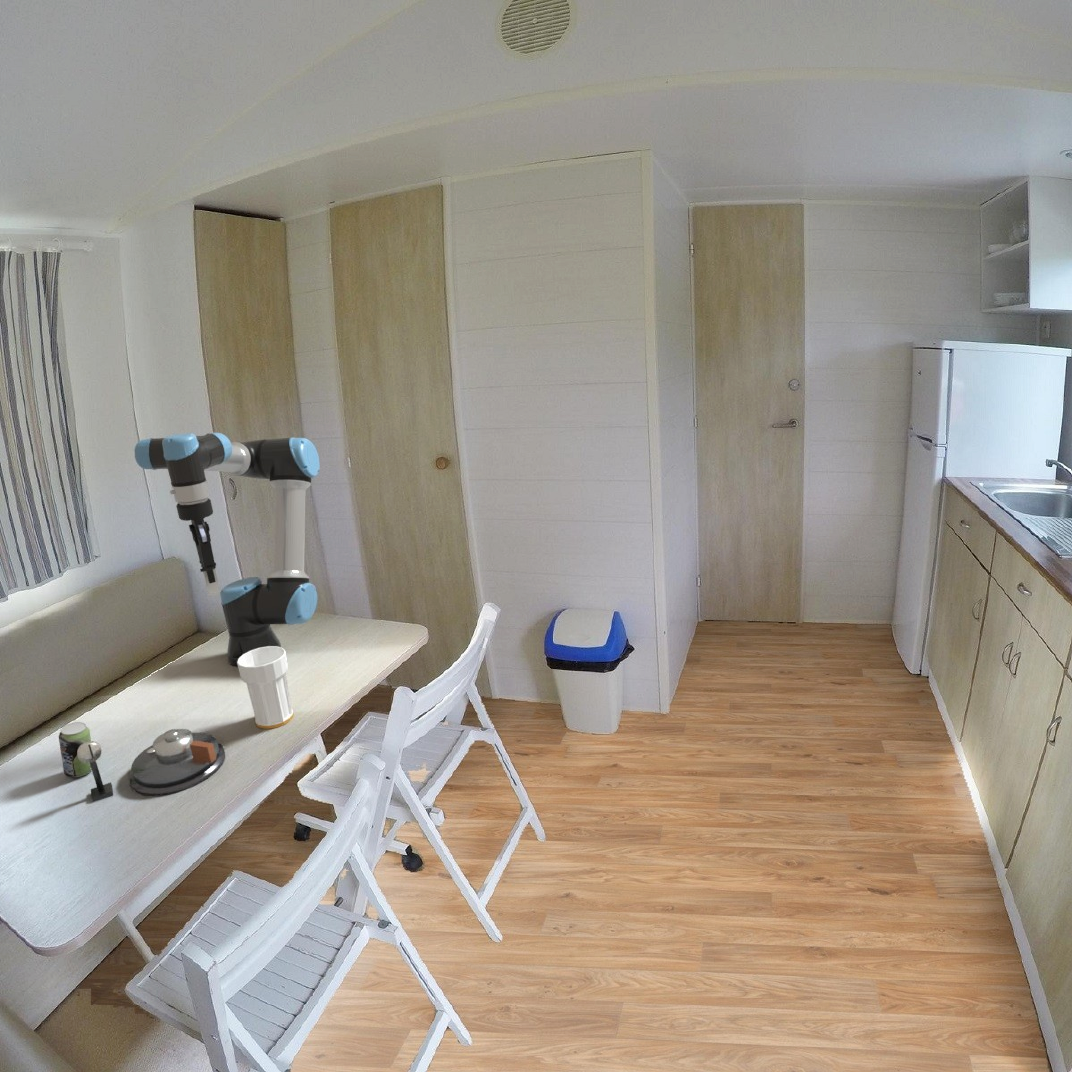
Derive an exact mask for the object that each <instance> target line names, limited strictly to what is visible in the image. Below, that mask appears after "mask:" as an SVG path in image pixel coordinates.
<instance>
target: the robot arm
mask: <svg viewBox="0 0 1072 1072" xmlns="http://www.w3.org/2000/svg"><path fill="white" fill-rule="evenodd" d="M133 450H134V459H135V461H136V463H137V465H138V466H139V467H140V468H142V469H145V470H153V471H155V470H156V471H157V470H167V471H168V472H167V473H168V474H169V475H168V476H169V478H170V484H171V488H172V489H171V490H170V491H169V493H170V495H173V497H174V501H175V503H177V504H176V506H175V507H176V509H177V514H178V518H179V519H180V520H181V521H186V522H187V521H190V522H191V524H188V528H189V531H190V532H191V535H192V540H193V542H194V544H195V547H196V551H197V555H198V559H199V563H200V567H201V568H200V569H199V571H200V573H202V574H203V577H204V584H205V588H206V592H207V595H208V597H211V596H215V595H220V602H221V607H222V610H223V615H224V619H225V622H226V624H225V625H226V627H227V628H226V629H227V632H228V644H227V651H226V657H227V661H228V664H229V665H231V666H234V667H238V665H237V661H238V658H240V657H241V656H242V655H243V654H245V653H247V652H249V651H251V650H254V649H257V648H261V647H267V646H277V647H281V648H282V646H281V645H282V644H281V641H280V639H279V638H278V636H277V635H276V633H275V631H274V630H273V628H272V626H271V625H288V626H294V625H301V624H306V623H307V622H308V621H310V619H312V616H313V615H314V613H315V611H316V608H317V603H318V592H317V589H316V586H315V585H314V584H312V583H311V582H310V577H309V575H308V574H307V573H306V572H305V541H306V540H305V539H306V538H305V537H306V535H305V534H306V496H307V495H306V494H307V493H306V492H307V490H308V489H309V488H310V487H311V486H312V479H314V478H316V477H317V476H318V475H319V472H320V467H321V466H320V465H321V464H320V457H319V453H318V451H317V448H316V446H315V444H313V442H312V441H310V439H309V438H308V439H307V438H305V437H294V436H293V437H284V438H271V439H256V440H249V441H243V442H238V441H234V442H233V441H232V442H231V441H230V439H229V438H228V437H227V435H225V434H223V433H221V432H212V433H210V432H209V433H206V434H204V435H196V434H194V433H189V432H187V433H178V434H173V435H169V436H166V437H161V438H160V437H159V438H157V437H156V438H153V437H151V438H145V439H141V440H139V441H138V442H137V443H136V445H135V447H134V449H133ZM205 471H206V472H207V471H208V472H225V473H226V474H229V475H231V476H234V477H245V478H251V479H257V480H258V479H259V480H269V484H270V486H271V487H272V488H273V489H274V505H273V506H274V508H273V510H274V512H273V518H274V519H273V545H272V546H273V549H272V550H273V551H272V554H273V555H272V558H273V559H272V572H271V573H270V574H268V576H267V578H266V581H267V582H266V583H263V580H261V578H260V577H258V576H251V577H245V578H242V579H238V580H236V581H233V582H231V583H229V584H227V585H226V586H224V587H223V588H222V589H220V584H219V580H218V576H217V569H216V568H217V563H216V562H215V558H214V553H213V552H214V551H213V548H212V547H213V546H212V544H211V541H212V540H211V534H210V526H209V523H208V521H205V519H206V517H207V518H208V517H210V516H212V515H213V514H214V510H213V505H212V500H211V499H210V491H209V490H210V489H209V485H208V482H207V478H206V474H205V473H206V472H205Z"/></svg>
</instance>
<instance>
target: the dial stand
mask: <svg viewBox="0 0 1072 1072" xmlns="http://www.w3.org/2000/svg"><path fill="white" fill-rule="evenodd" d="M101 755H102V747H101V745H100V744H99V743H98V742H96V741H92V740H91V741H89V742H85V743H83V744H82V745H81V746H80V747H79V748H78V751H77V756H78V759H79V760H80V761H81V762H83V763H90V766H91V769H92V770H91V772H92V776H93V779H94V782H95V785H96V787H93V788H91V789H90V799H91V802H92V803H95V802H97V801H100V800H104V799H106V798H109V797H112V796H114V789H113V784H112V782H111V781H110V782H108V783H103V780H102V777H101V774H100V770H99V766H98V763H97V760H99V759H100V757H101Z"/></svg>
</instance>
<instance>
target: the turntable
mask: <svg viewBox="0 0 1072 1072" xmlns="http://www.w3.org/2000/svg"><path fill="white" fill-rule="evenodd" d="M191 733H192V737H193V741H194V742H192V743H191V744H190V748H191V752H192V755H191V756H190V757H188V758H187V759H185V760H183V761H181V762H178V763H174V764H160V763H159V762H158V761H157V758H156V754H155V751H154V747H153V744H152V745H151V746H149V747H147V748H146V749H144V750H143V751H142V752H140V753H139V754H138V755H137V756H136V757H135V759H134V760H133V761H132V764H131V767H130V768H131V772H132V773H133V777H134V780H135V782H136V783H137V784H139V785H141V786H144V787H149V788H161V787H168V786H173V785H176V784H180V783H183V782H185V781H188V780H190V779H192V778H195V777H196V776H198V775H200V774H202V773H203V772H205V771H206V770H208V769H209V768H210V767H211V766H212V765H213V764H214V763H215V762H216V761H217V759H218V757H219V754H220V750H219V746H218V743H219V742H218V739H217V737H215V735H212V734H209V733H205V732H191Z"/></svg>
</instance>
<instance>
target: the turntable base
mask: <svg viewBox="0 0 1072 1072" xmlns="http://www.w3.org/2000/svg"><path fill="white" fill-rule="evenodd" d="M218 746H219V750H220V754H219V757H218V759H217V761H216V762H215V763H214V764H213V765H212V766H211V767H210V768H209V769H208V770H206V771H205V772H203V773H202V774H200V775H198V776H196V777H195V778H192V779H190V780H188V781H185V782H183V783H180V784H176V785H173V786H168V787H161V788H149V787H144V786H141V785H139V784H137V783H136V782H135V780H134V777H133V773H132V771H131V772H130V774H129V777H128V781H129V785H130V788H131V789H132V790H133V791H134V792H135V793H136V794H139V795H142V796H148V797H149V796H151V797H157V796H166V795H171V794H175V793H180V792H182V791H185V790H188V789H191V788H193V787H195V786H197V785H199V784H201V783H203V782H205V781H206V780H208V779H210V777H212V776H214V775H215V774H216V773H217V772H218V771H219V770H220V769H221V767H222V766H223V764H224V763H225V760H226V751H225V748H224V746H223V745H222V744H221V743H220V742H218Z"/></svg>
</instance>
